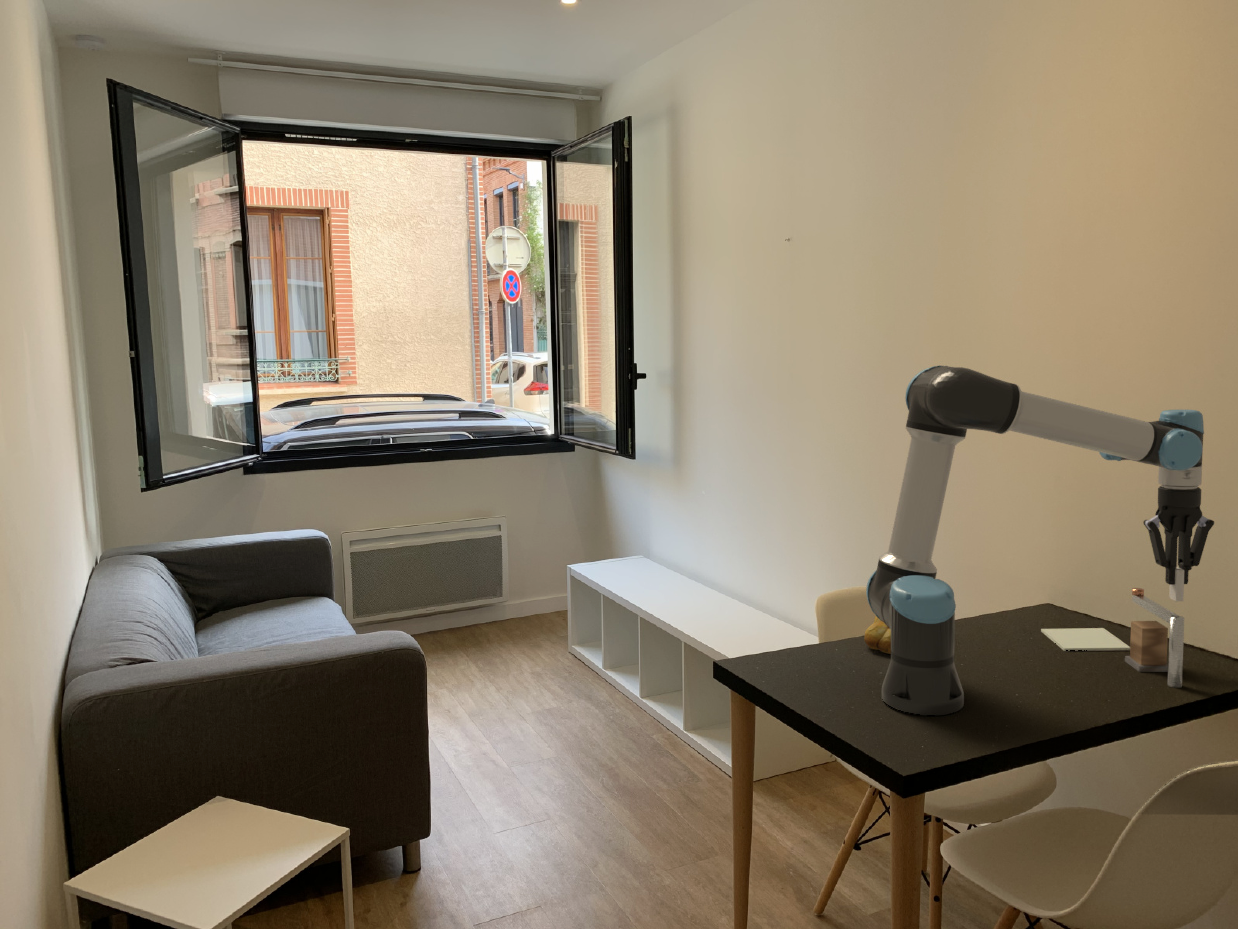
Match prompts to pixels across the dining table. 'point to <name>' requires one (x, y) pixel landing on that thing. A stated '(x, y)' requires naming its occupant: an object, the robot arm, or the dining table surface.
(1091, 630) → the sage mat
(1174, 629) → the grey l-shaped handle
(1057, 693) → the dining table surface
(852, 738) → the dining table surface
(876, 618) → the bread roll
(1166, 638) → the brown boxy piece
